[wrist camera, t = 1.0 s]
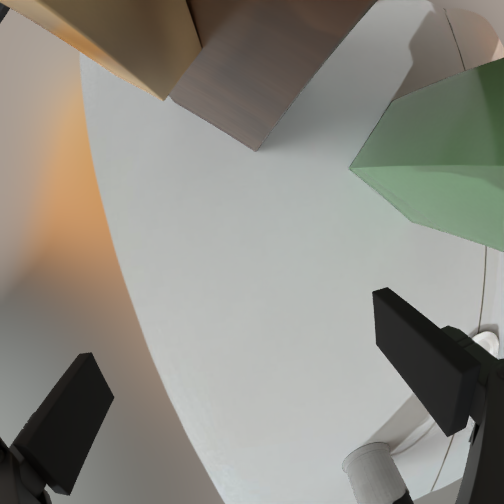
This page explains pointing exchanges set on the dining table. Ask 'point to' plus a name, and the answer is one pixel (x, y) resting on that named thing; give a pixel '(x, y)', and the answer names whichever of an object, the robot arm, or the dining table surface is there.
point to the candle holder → (488, 342)
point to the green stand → (444, 155)
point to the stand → (259, 59)
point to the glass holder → (375, 476)
